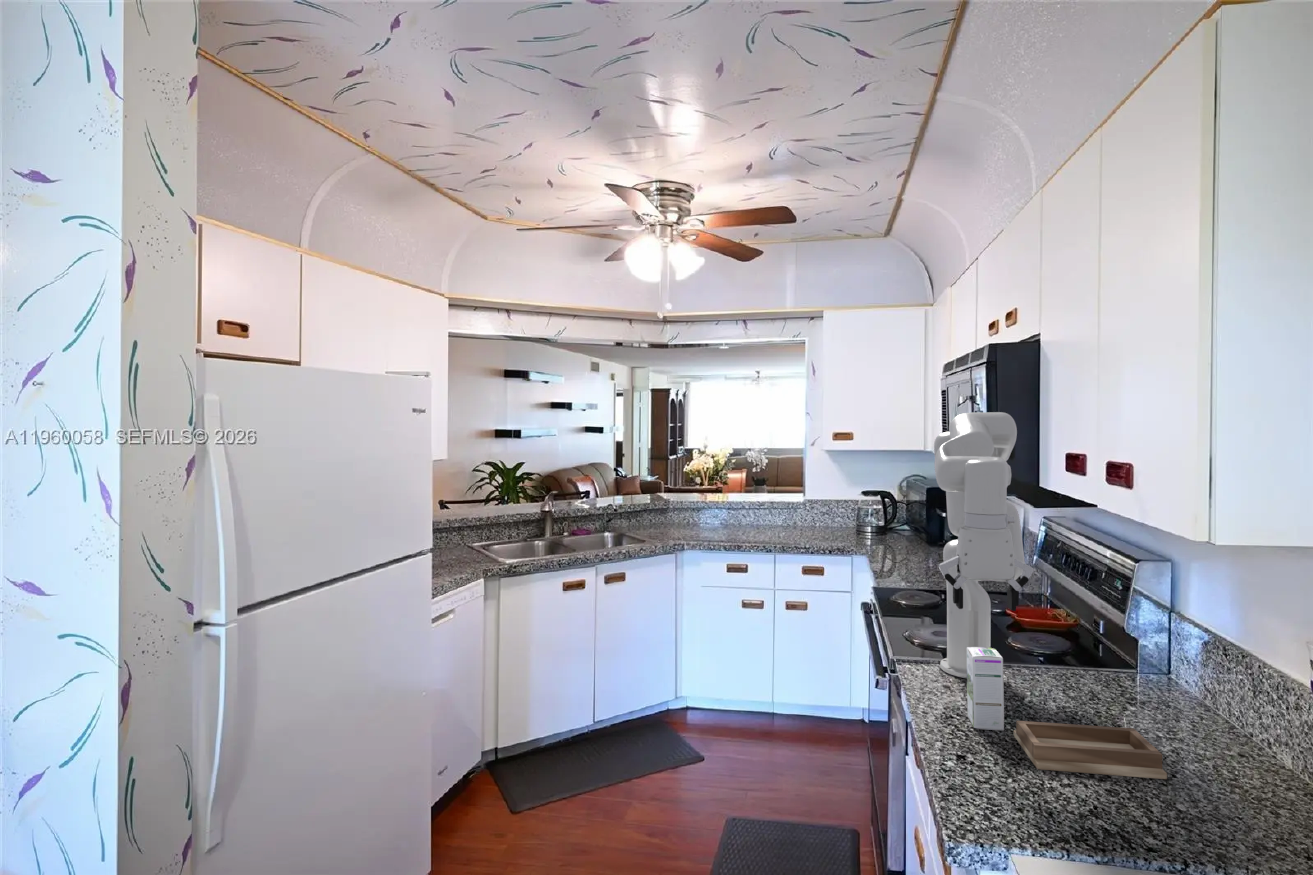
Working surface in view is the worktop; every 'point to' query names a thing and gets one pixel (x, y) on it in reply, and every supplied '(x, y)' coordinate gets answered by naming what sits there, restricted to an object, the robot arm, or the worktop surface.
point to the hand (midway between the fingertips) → (985, 608)
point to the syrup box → (985, 688)
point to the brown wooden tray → (1089, 749)
